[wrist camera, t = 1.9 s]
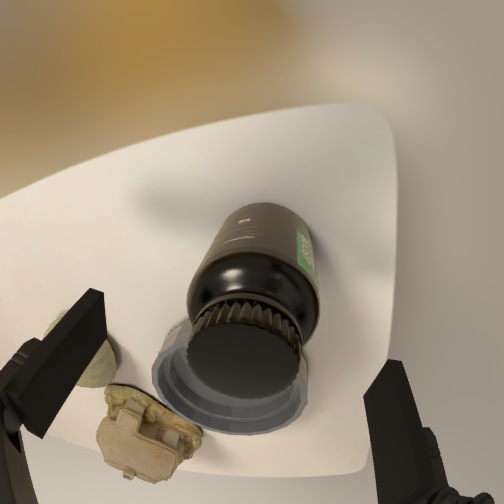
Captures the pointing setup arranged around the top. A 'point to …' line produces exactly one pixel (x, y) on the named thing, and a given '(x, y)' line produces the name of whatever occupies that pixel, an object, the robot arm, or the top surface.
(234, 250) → the supplement bottle
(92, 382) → the sea urchin shell
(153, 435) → the ceramic model
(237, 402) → the dish
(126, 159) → the top surface
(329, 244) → the top surface
